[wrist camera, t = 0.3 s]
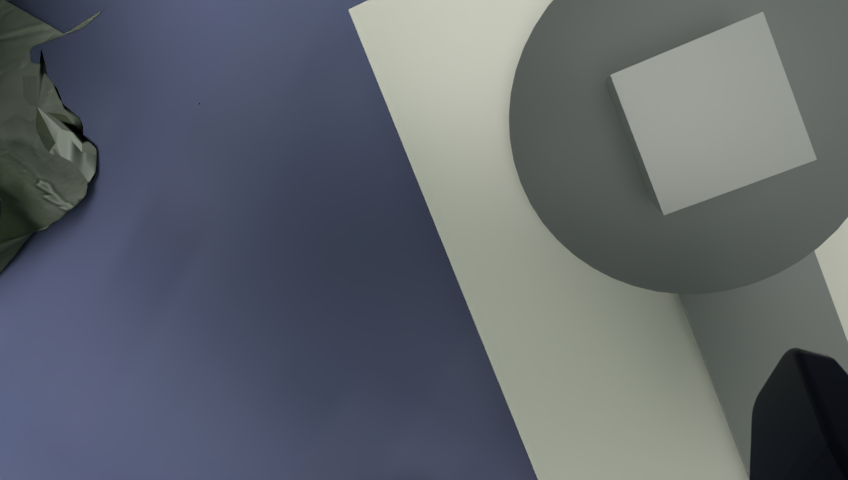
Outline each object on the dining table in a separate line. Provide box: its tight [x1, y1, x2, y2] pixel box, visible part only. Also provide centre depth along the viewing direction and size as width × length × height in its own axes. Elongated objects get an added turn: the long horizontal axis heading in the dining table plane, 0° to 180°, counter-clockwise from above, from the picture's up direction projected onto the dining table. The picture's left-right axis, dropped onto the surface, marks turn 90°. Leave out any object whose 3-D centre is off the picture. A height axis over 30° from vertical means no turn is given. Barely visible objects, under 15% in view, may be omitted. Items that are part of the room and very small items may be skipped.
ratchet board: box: [349, 0, 848, 480], centre depth 19 cm, size 20×14×6 cm
